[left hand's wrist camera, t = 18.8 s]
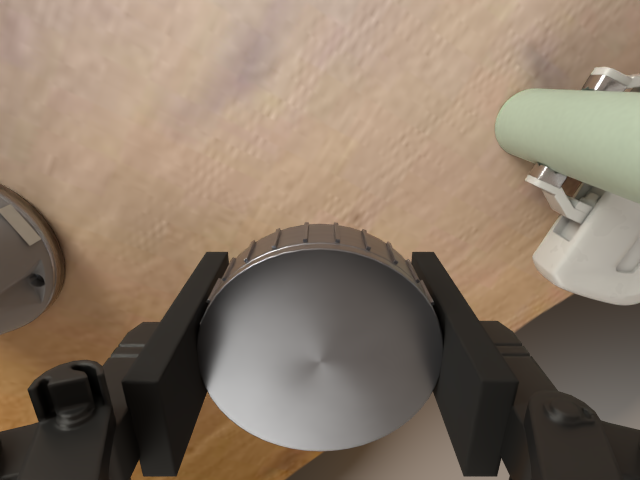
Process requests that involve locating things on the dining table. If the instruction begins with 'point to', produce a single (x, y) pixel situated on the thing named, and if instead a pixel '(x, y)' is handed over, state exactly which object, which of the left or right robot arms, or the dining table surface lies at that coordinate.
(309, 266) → the lid
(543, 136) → the jar
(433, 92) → the dining table surface
